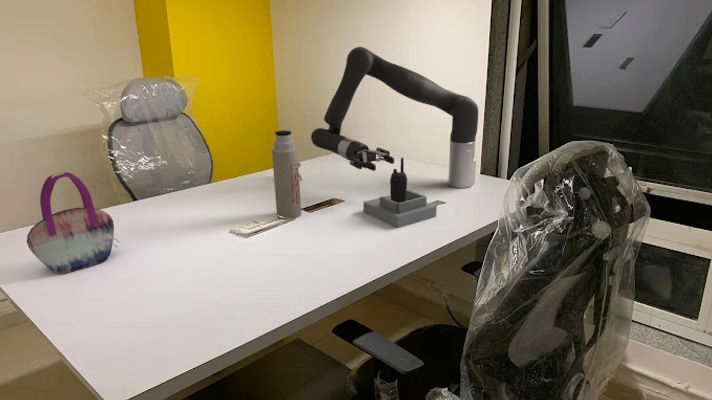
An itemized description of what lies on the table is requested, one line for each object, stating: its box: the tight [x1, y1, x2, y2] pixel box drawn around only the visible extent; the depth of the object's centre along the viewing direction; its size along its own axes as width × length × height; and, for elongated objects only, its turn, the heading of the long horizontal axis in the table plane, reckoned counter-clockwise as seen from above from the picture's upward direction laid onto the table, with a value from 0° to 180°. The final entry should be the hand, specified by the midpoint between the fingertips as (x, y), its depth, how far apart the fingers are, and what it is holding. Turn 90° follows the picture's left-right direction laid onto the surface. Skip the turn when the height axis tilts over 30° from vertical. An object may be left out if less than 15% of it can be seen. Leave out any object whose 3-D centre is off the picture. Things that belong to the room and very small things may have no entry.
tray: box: [362, 189, 438, 229], centre depth 167 cm, size 16×18×6 cm
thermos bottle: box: [271, 129, 302, 220], centre depth 165 cm, size 8×8×28 cm
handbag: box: [26, 172, 120, 274], centre depth 134 cm, size 21×10×25 cm, turn 131°
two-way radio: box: [389, 157, 408, 203], centre depth 165 cm, size 6×4×15 cm
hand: (384, 164), depth 172 cm, fingers open, 8 cm apart
